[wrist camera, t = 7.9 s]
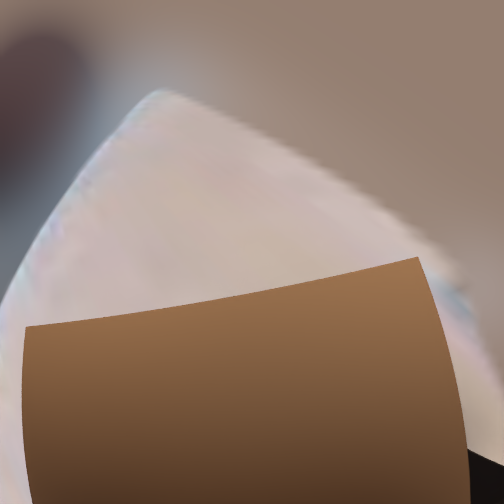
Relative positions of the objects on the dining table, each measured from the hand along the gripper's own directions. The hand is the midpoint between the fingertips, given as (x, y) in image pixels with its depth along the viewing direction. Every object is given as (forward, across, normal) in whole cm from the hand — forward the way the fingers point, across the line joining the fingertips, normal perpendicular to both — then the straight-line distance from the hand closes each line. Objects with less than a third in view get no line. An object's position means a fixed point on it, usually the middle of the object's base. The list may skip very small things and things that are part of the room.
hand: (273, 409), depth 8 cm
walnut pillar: (+4, 0, +6) cm, 7 cm away
